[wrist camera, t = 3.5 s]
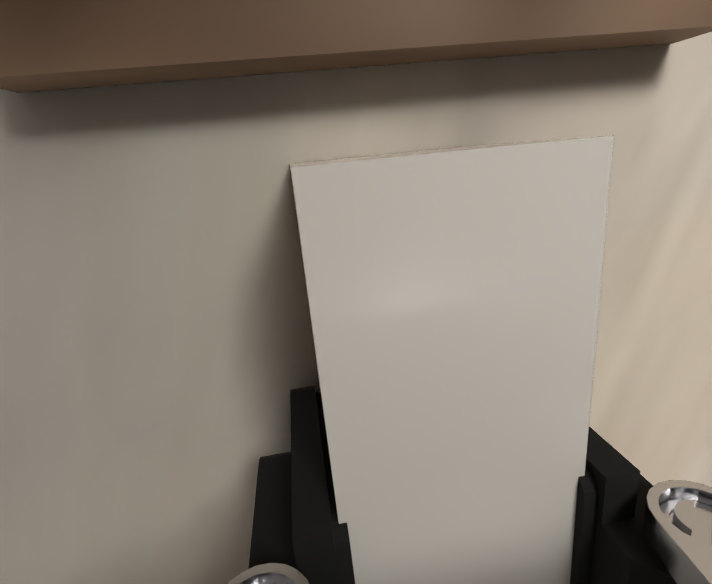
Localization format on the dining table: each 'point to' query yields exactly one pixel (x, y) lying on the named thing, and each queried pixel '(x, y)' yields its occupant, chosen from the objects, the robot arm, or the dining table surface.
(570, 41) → the walnut rack
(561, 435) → the white rectangular block
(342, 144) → the dining table surface
